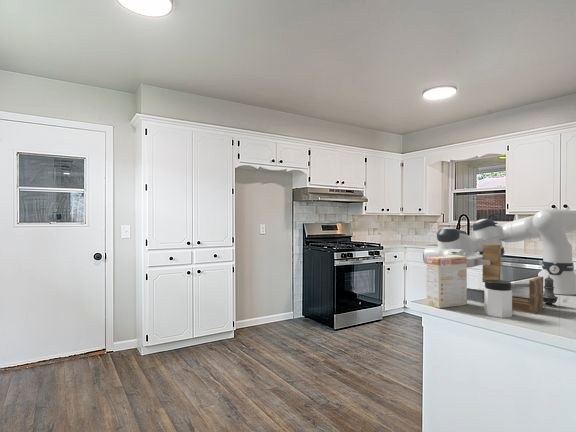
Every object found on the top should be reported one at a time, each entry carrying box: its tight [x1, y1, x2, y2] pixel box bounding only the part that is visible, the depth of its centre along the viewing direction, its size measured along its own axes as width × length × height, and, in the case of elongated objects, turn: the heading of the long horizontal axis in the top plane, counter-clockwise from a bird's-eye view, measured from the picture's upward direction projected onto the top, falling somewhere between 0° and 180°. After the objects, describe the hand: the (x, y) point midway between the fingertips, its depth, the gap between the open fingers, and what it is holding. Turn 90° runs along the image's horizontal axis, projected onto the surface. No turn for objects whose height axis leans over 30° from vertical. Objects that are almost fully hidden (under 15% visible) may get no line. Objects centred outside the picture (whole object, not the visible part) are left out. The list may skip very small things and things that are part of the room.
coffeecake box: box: [425, 255, 468, 309], centre depth 146 cm, size 15×7×20 cm, turn 113°
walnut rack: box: [512, 276, 544, 314], centre depth 142 cm, size 13×13×12 cm
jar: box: [483, 279, 513, 319], centre depth 131 cm, size 9×8×12 cm
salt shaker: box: [543, 276, 559, 308], centre depth 145 cm, size 6×6×12 cm
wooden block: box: [482, 244, 502, 283], centre depth 151 cm, size 2×6×16 cm, turn 42°
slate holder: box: [467, 287, 484, 303], centre depth 157 cm, size 8×10×4 cm
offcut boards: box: [512, 298, 529, 304], centre depth 141 cm, size 3×10×4 cm, turn 42°
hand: (492, 262), depth 151 cm, fingers closed on wooden block, 2 cm apart
